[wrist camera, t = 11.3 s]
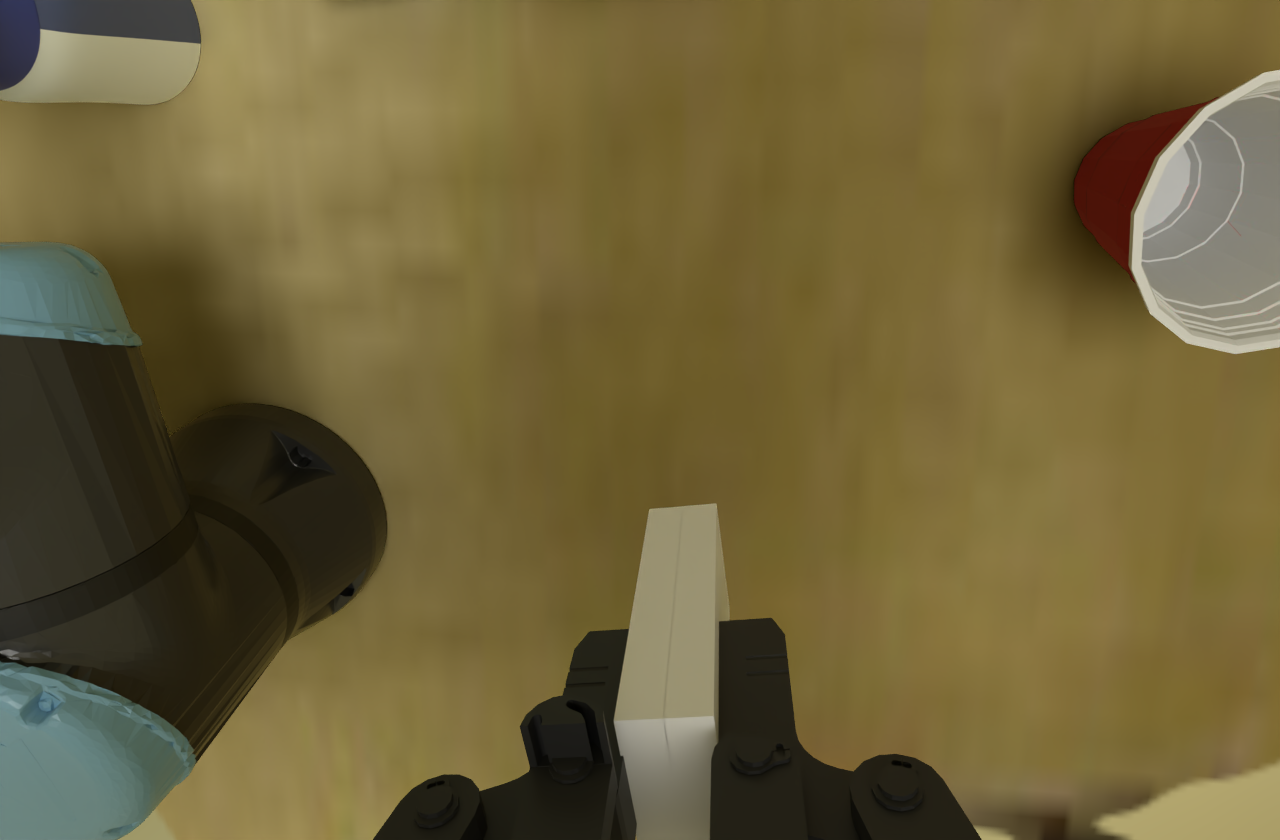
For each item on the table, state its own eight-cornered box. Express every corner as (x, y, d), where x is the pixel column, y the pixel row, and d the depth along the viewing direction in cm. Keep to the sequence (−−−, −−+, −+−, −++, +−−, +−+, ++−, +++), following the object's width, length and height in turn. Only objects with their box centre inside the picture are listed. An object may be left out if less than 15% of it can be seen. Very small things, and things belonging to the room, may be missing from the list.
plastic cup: (1217, 291, 43) (1386, 363, 32) (1006, 283, 44) (1100, 351, 33) (1282, 67, 39) (1502, 63, 28) (1048, 63, 40) (1172, 58, 29)
